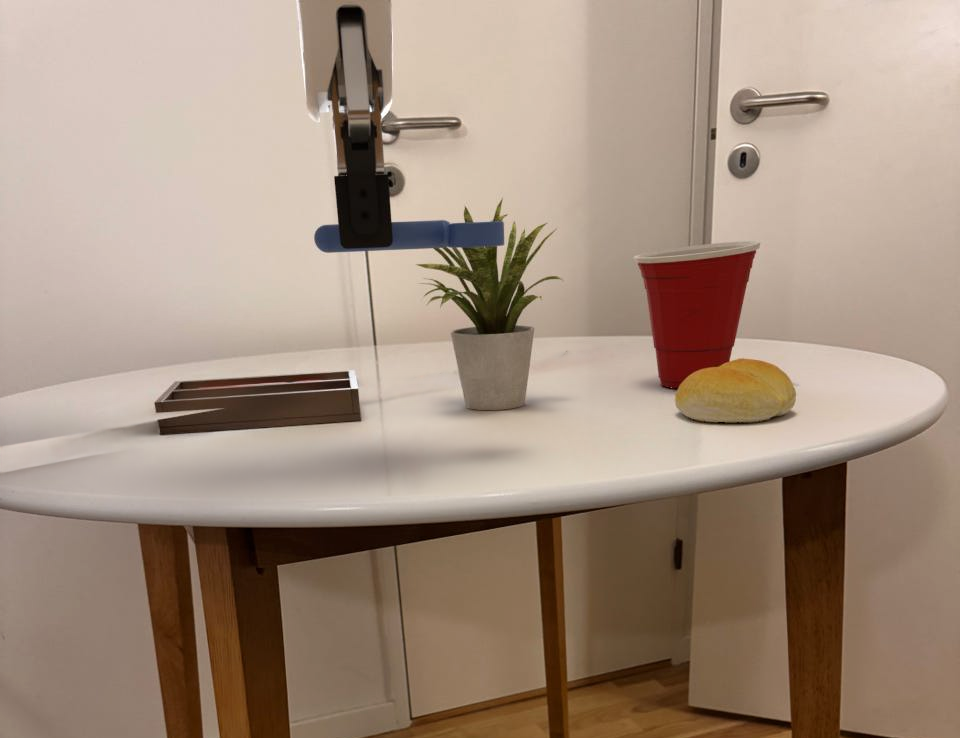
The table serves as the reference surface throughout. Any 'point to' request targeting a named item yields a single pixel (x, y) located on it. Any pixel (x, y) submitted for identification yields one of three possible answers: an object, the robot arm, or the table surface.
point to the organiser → (260, 402)
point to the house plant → (492, 320)
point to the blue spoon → (422, 236)
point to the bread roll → (736, 392)
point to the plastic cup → (695, 304)
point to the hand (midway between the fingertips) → (366, 245)
